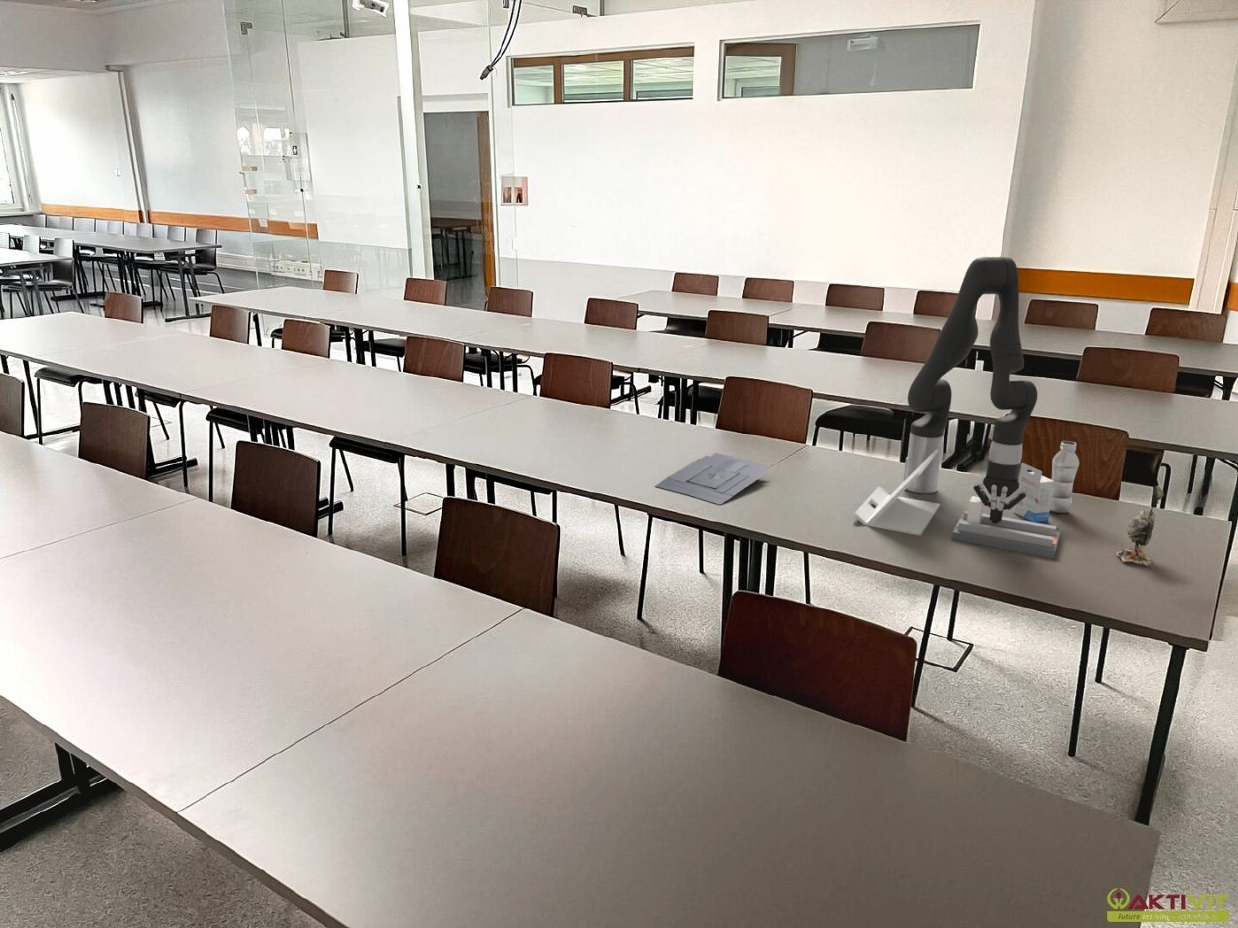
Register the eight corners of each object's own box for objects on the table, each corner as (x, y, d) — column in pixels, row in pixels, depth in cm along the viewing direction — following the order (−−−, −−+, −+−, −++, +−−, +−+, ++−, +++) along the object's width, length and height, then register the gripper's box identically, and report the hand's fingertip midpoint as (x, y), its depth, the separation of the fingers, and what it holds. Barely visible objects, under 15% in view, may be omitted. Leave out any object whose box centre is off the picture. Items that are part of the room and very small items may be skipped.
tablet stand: (939, 506, 247) (947, 449, 242) (920, 536, 227) (928, 474, 221) (875, 495, 256) (881, 439, 250) (851, 523, 235) (857, 463, 230)
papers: (776, 475, 268) (776, 464, 267) (721, 513, 248) (720, 502, 247) (711, 459, 283) (710, 449, 282) (654, 494, 263) (653, 483, 262)
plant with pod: (1156, 554, 215) (1172, 478, 209) (1149, 570, 207) (1166, 491, 200) (1119, 546, 220) (1134, 472, 213) (1111, 561, 211) (1126, 484, 205)
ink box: (1049, 521, 236) (1057, 470, 231) (1033, 523, 234) (1041, 471, 230) (1027, 510, 243) (1035, 460, 239) (1012, 512, 242) (1020, 462, 238)
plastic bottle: (1047, 505, 247) (1058, 438, 241) (1073, 511, 243) (1085, 442, 237) (1040, 511, 242) (1052, 443, 236) (1067, 517, 238) (1079, 448, 232)
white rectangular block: (965, 526, 226) (969, 501, 224) (968, 520, 230) (972, 496, 228) (978, 528, 225) (981, 503, 223) (980, 523, 229) (984, 498, 226)
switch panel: (951, 539, 224) (953, 524, 223) (961, 521, 236) (962, 507, 235) (1054, 558, 213) (1056, 543, 212) (1058, 538, 224) (1061, 524, 223)
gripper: (974, 458, 219) (965, 522, 225) (1031, 466, 213) (1021, 532, 218) (979, 450, 225) (970, 513, 231) (1034, 458, 219) (1024, 522, 225)
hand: (995, 522), depth 225 cm, fingers closed
